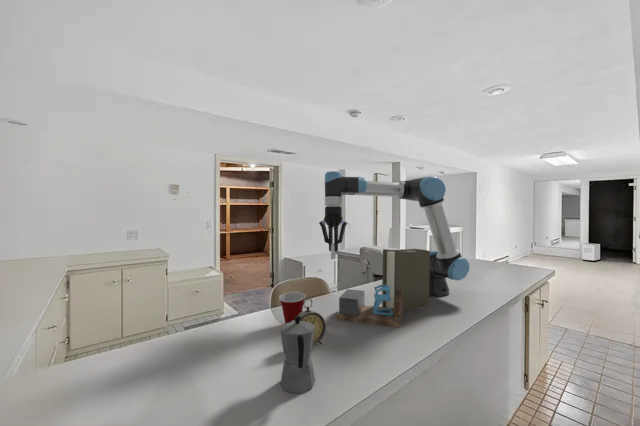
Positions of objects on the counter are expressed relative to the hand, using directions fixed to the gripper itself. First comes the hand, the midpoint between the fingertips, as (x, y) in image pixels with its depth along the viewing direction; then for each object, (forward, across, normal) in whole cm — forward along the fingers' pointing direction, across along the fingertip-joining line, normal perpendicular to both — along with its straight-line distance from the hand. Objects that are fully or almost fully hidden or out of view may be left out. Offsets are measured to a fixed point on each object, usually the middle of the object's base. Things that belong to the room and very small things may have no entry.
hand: (333, 258), depth 134 cm
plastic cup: (+25, +11, +20) cm, 33 cm away
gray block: (+22, -8, 0) cm, 24 cm away
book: (+25, -30, -18) cm, 43 cm away
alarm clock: (+25, -2, +34) cm, 42 cm away
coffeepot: (+25, -8, +56) cm, 62 cm away
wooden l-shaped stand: (+24, -17, 0) cm, 29 cm away
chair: (+23, -22, 0) cm, 31 cm away
